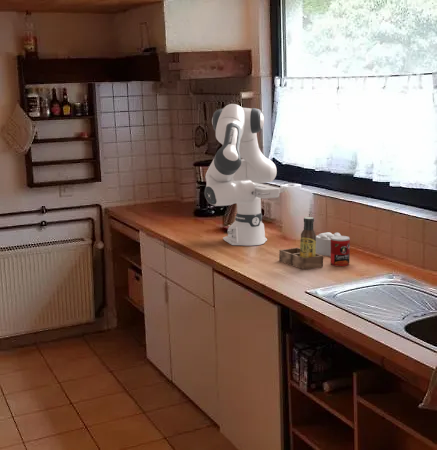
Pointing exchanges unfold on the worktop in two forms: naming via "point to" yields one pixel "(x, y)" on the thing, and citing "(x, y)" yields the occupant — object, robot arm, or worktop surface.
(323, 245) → the lumpy-topped squat cylinder
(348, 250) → the canned food
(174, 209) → the worktop surface
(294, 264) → the box
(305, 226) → the sauce bottle
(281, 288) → the worktop surface
